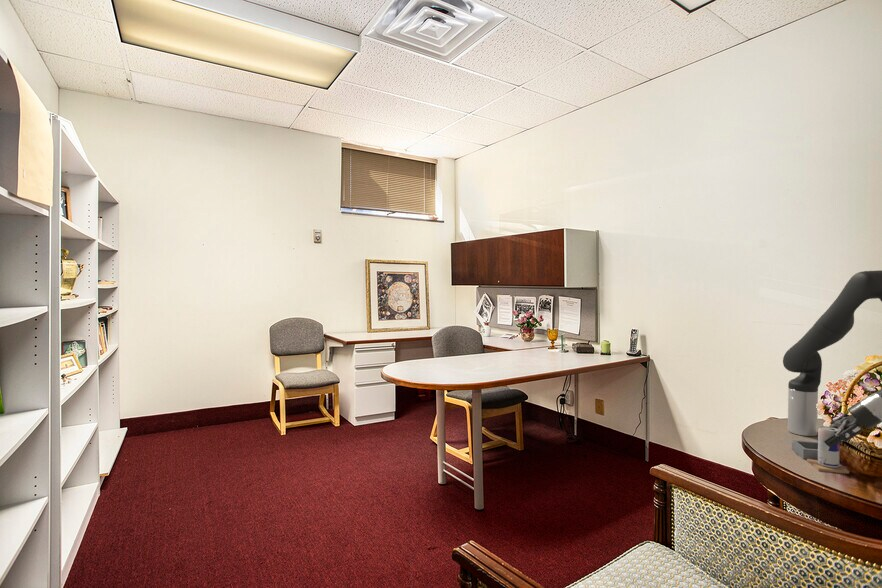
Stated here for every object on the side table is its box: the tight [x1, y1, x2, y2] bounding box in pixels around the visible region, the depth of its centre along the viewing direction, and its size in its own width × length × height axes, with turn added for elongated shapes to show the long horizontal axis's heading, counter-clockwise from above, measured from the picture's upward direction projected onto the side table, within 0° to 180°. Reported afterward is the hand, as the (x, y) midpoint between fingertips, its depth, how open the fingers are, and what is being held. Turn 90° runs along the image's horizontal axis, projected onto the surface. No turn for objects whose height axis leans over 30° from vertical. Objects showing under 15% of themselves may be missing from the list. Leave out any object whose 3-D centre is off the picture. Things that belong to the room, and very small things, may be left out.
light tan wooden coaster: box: [806, 459, 850, 474], centre depth 151 cm, size 8×8×1 cm
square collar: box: [791, 439, 818, 461], centre depth 160 cm, size 9×9×4 cm
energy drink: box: [817, 425, 841, 468], centre depth 150 cm, size 5×5×12 cm
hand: (824, 440), depth 151 cm, fingers open, 8 cm apart
